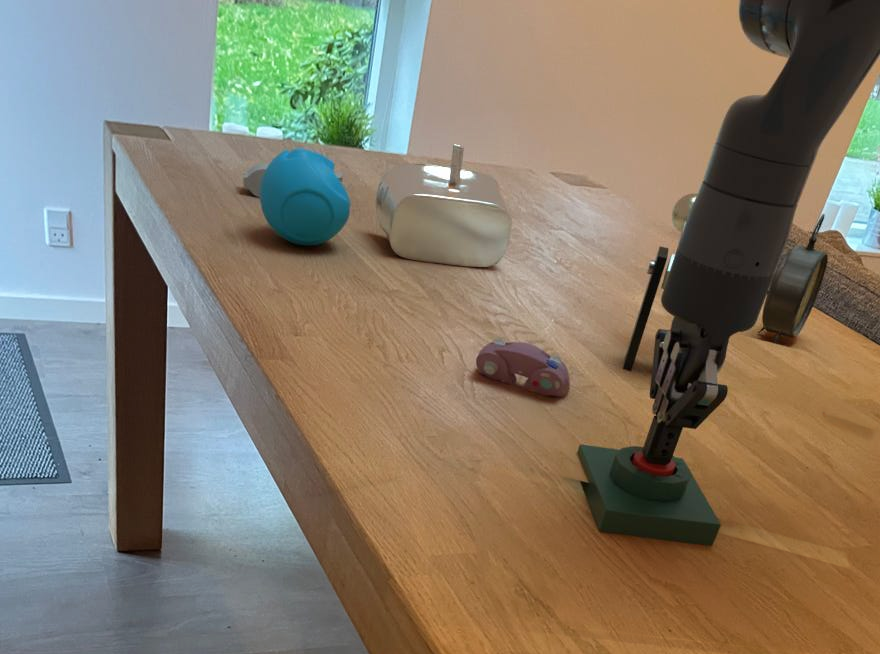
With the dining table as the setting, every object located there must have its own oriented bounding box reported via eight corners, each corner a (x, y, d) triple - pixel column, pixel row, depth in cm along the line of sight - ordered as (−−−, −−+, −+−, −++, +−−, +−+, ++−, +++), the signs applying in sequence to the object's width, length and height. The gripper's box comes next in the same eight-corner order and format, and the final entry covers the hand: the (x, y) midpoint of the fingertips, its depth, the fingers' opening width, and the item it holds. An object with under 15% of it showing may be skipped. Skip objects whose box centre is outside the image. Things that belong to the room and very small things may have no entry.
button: (624, 465, 87) (630, 447, 86) (663, 471, 88) (669, 453, 86) (633, 485, 84) (639, 467, 83) (673, 490, 85) (680, 472, 84)
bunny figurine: (243, 155, 150) (342, 157, 151) (245, 191, 153) (341, 193, 154) (242, 170, 142) (346, 172, 144) (244, 207, 145) (345, 209, 147)
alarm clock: (781, 355, 128) (834, 225, 119) (742, 341, 130) (791, 213, 120) (802, 337, 136) (853, 214, 126) (764, 324, 138) (812, 202, 128)
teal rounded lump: (359, 256, 132) (372, 163, 125) (287, 260, 126) (296, 162, 119) (311, 227, 139) (320, 138, 132) (240, 230, 133) (246, 136, 126)
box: (573, 465, 92) (584, 425, 89) (675, 478, 93) (689, 440, 90) (598, 532, 82) (612, 490, 80) (712, 546, 83) (729, 505, 81)
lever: (670, 213, 113) (681, 181, 109) (706, 222, 113) (718, 190, 109) (649, 292, 107) (660, 261, 103) (687, 302, 106) (699, 271, 103)
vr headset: (490, 248, 146) (513, 142, 137) (508, 274, 137) (534, 162, 128) (370, 232, 142) (386, 122, 133) (381, 257, 133) (398, 141, 124)
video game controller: (468, 396, 104) (471, 348, 98) (484, 366, 106) (488, 317, 100) (557, 424, 102) (566, 377, 96) (571, 393, 104) (581, 345, 98)
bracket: (607, 352, 118) (643, 233, 110) (681, 371, 117) (723, 252, 109) (598, 387, 108) (637, 260, 100) (679, 408, 107) (724, 281, 99)
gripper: (805, 291, 70) (718, 504, 80) (746, 238, 80) (675, 432, 91) (705, 274, 69) (630, 492, 79) (658, 223, 79) (597, 421, 90)
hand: (654, 460), depth 85 cm, fingers closed
